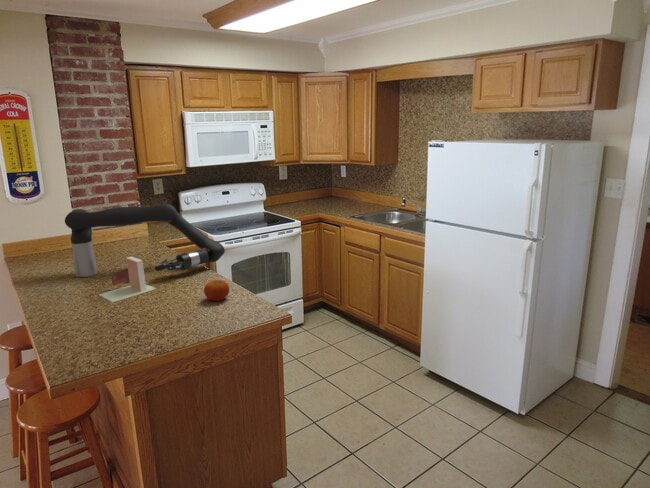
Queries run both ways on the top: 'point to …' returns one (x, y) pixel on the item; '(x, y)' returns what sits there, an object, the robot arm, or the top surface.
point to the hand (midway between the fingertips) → (155, 268)
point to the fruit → (216, 290)
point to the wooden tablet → (121, 277)
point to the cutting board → (124, 293)
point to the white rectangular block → (136, 273)
